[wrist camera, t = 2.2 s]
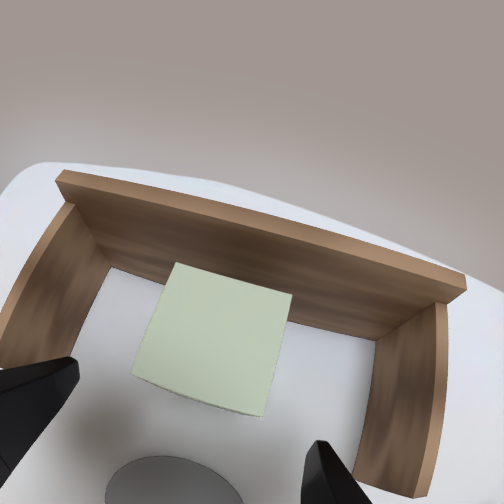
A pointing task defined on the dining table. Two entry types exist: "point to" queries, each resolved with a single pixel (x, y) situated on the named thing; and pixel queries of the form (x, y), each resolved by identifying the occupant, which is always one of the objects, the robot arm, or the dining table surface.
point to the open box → (262, 274)
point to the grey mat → (168, 483)
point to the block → (214, 340)
